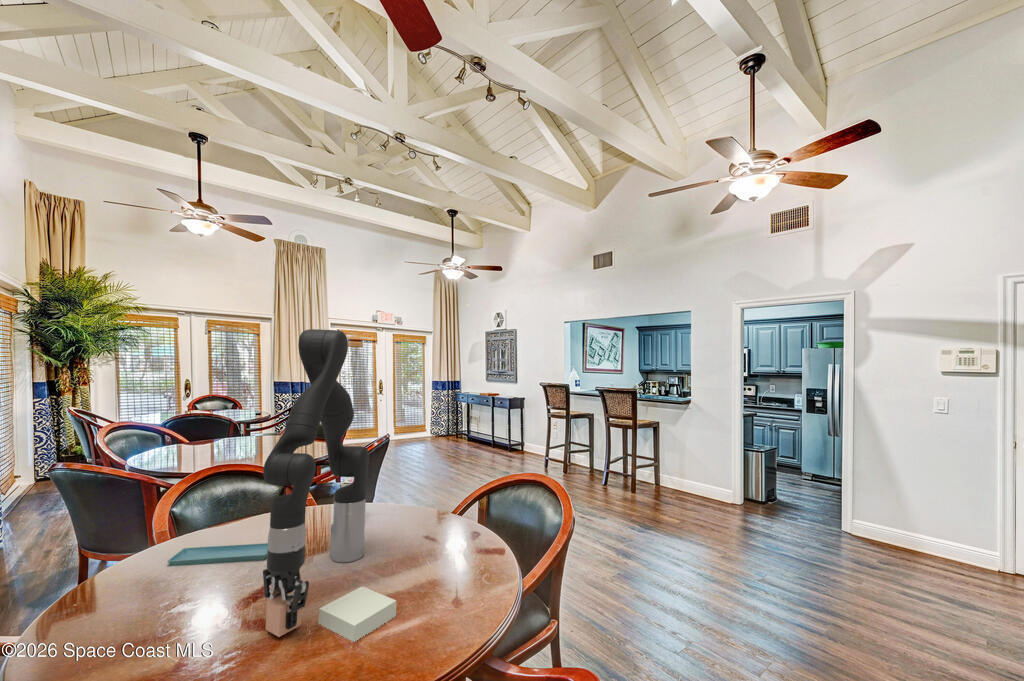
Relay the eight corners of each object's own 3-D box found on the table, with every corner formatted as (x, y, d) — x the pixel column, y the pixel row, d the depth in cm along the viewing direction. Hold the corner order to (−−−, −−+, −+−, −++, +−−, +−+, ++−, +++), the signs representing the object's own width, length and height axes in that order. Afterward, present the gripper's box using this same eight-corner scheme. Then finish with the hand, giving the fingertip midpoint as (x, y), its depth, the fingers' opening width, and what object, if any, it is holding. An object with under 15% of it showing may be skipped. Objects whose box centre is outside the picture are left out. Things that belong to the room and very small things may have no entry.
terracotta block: (265, 629, 96) (266, 601, 97) (287, 618, 101) (288, 591, 101) (278, 637, 94) (279, 608, 94) (300, 625, 98) (301, 597, 98)
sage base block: (318, 626, 100) (319, 608, 100) (361, 602, 110) (362, 586, 110) (353, 645, 94) (354, 625, 94) (395, 618, 104) (396, 600, 104)
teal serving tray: (165, 568, 126) (166, 559, 126) (183, 554, 135) (184, 546, 135) (265, 563, 131) (265, 554, 131) (275, 550, 140) (276, 542, 140)
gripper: (251, 542, 99) (248, 621, 98) (290, 558, 91) (286, 643, 90) (284, 531, 105) (280, 605, 104) (322, 545, 98) (319, 625, 97)
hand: (283, 622), depth 97 cm, fingers closed on terracotta block, 5 cm apart
